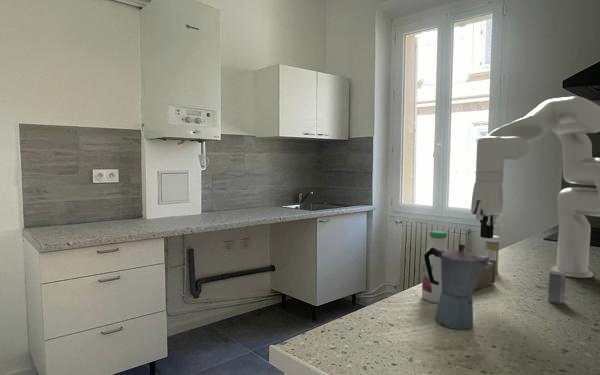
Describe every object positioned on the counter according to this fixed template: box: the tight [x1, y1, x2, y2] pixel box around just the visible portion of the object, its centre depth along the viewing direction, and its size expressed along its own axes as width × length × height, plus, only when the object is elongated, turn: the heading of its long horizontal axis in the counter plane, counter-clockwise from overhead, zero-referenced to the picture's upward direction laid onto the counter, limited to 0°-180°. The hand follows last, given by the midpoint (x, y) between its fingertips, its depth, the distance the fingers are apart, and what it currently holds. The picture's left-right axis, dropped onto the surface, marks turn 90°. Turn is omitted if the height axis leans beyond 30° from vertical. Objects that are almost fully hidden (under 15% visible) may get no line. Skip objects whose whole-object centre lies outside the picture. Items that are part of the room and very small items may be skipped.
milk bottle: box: [421, 229, 449, 304], centre depth 115 cm, size 8×8×20 cm
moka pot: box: [423, 244, 489, 331], centre depth 98 cm, size 10×15×20 cm, turn 58°
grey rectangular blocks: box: [478, 254, 567, 305], centre depth 124 cm, size 3×26×8 cm, turn 35°
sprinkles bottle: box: [484, 234, 501, 274], centre depth 145 cm, size 5×5×13 cm
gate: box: [473, 260, 496, 292], centre depth 125 cm, size 3×18×8 cm, turn 130°
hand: (486, 237), depth 120 cm, fingers closed
